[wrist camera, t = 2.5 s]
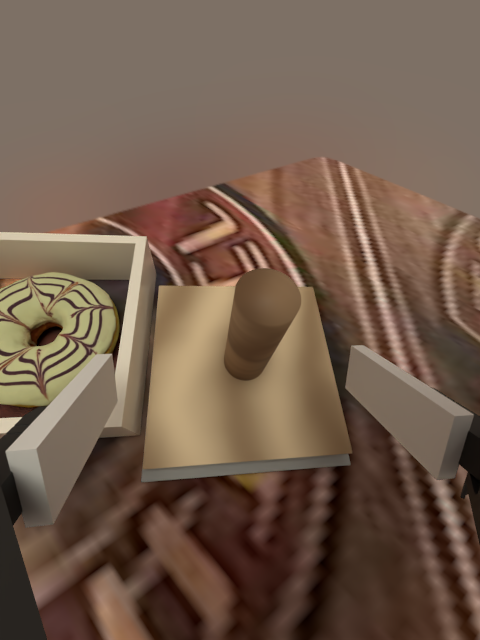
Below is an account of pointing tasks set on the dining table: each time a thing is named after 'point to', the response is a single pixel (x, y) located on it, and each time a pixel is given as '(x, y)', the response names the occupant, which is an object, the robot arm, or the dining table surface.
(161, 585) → the dining table surface
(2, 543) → the robot arm
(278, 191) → the dining table surface
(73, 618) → the dining table surface
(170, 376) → the oak cover
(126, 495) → the dining table surface
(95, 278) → the wooden box
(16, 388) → the decorated donut
